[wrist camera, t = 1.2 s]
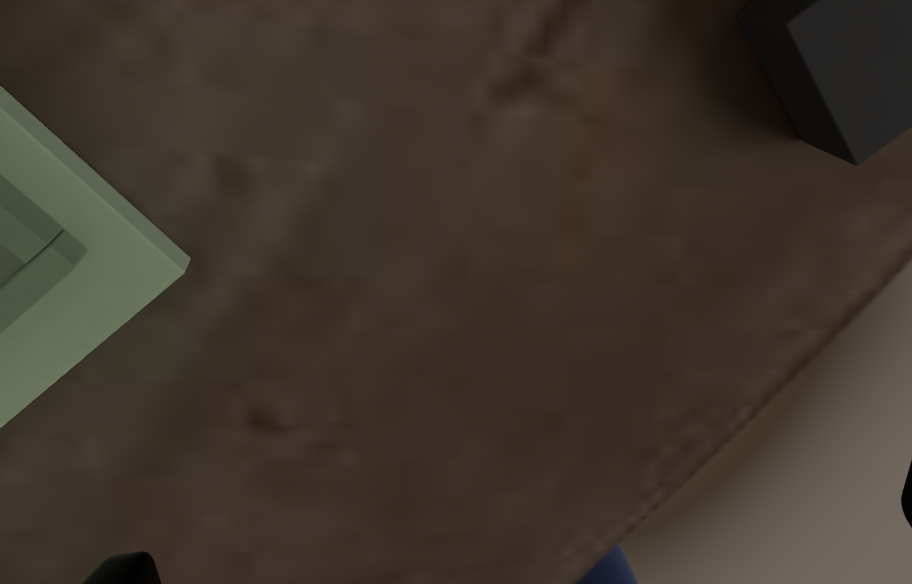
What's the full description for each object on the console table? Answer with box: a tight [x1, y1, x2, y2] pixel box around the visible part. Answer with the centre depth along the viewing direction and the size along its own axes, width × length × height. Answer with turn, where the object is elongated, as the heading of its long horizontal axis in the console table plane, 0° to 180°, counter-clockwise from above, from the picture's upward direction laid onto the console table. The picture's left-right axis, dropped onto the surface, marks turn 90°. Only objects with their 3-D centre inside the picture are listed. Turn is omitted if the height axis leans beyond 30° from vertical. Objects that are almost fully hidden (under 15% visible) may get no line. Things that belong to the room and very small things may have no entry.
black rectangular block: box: [736, 0, 912, 165], centre depth 19 cm, size 6×4×2 cm
